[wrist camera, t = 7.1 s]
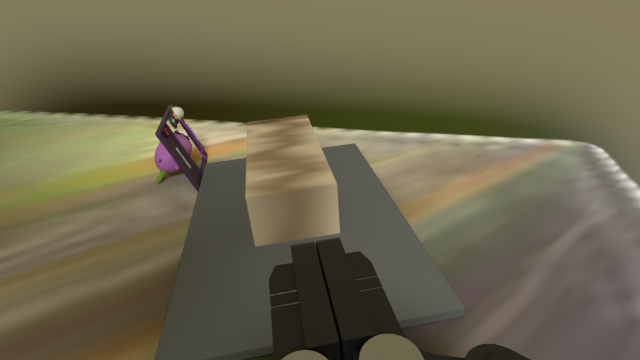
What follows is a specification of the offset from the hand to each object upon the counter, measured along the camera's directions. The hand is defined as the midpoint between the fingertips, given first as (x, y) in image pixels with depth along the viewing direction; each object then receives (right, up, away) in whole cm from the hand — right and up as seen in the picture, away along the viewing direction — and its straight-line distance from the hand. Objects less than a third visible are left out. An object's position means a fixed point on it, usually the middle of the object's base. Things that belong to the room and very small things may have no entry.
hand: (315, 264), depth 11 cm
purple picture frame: (-14, +3, +26) cm, 30 cm away
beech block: (-1, 0, +13) cm, 14 cm away
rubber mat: (-2, 0, +18) cm, 18 cm away
